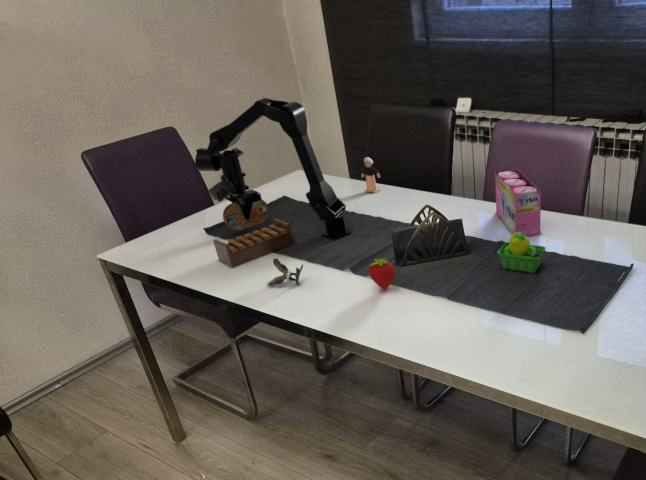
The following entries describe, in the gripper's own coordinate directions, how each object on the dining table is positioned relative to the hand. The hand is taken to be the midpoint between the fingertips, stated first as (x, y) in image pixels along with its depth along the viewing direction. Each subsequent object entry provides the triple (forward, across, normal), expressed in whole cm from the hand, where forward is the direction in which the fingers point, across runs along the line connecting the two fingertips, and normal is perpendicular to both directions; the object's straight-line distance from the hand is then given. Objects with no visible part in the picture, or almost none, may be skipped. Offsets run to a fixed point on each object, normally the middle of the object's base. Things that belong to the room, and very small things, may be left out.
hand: (245, 218), depth 194 cm
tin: (+3, 0, 0) cm, 3 cm away
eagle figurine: (+5, +44, -13) cm, 46 cm away
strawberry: (+5, +69, +1) cm, 69 cm away
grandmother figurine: (+5, +4, +49) cm, 49 cm away
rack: (+4, +18, -7) cm, 20 cm away
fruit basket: (+5, +89, +32) cm, 95 cm away
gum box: (+5, +68, +56) cm, 88 cm away
